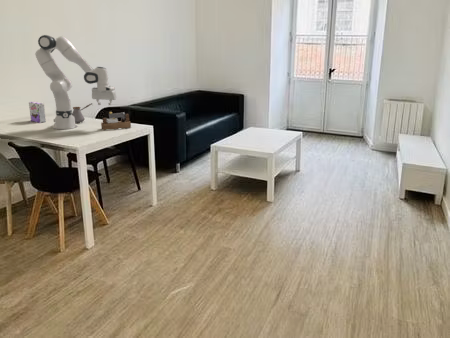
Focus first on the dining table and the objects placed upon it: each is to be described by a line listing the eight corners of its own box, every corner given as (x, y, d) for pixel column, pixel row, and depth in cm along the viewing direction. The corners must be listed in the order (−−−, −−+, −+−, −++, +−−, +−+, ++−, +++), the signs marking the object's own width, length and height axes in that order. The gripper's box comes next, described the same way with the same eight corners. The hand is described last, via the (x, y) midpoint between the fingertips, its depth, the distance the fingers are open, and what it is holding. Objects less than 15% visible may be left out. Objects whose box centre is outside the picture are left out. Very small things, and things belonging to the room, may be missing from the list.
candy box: (30, 120, 352) (28, 101, 347) (37, 119, 356) (34, 101, 351) (39, 123, 344) (37, 103, 339) (46, 122, 349) (44, 102, 344)
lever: (109, 122, 328) (108, 111, 326) (124, 120, 335) (123, 110, 332) (110, 122, 326) (109, 112, 323) (125, 121, 332) (125, 111, 330)
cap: (106, 122, 328) (106, 118, 327) (116, 121, 332) (116, 117, 331) (108, 123, 325) (107, 119, 324) (117, 122, 329) (117, 118, 328)
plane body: (101, 128, 329) (100, 115, 325) (128, 126, 340) (127, 113, 336) (103, 130, 323) (102, 116, 320) (130, 128, 334) (130, 114, 330)
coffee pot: (75, 124, 343) (73, 106, 339) (68, 122, 350) (66, 104, 346) (97, 120, 358) (96, 103, 354) (90, 119, 366) (89, 102, 361)
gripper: (89, 87, 324) (91, 105, 328) (112, 88, 319) (113, 106, 323) (93, 86, 330) (95, 104, 334) (116, 87, 325) (117, 105, 329)
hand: (104, 105), depth 329 cm, fingers open, 8 cm apart
